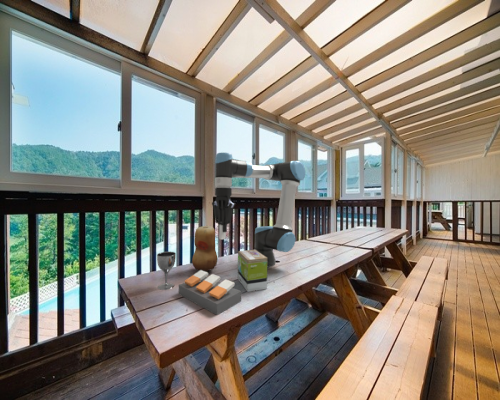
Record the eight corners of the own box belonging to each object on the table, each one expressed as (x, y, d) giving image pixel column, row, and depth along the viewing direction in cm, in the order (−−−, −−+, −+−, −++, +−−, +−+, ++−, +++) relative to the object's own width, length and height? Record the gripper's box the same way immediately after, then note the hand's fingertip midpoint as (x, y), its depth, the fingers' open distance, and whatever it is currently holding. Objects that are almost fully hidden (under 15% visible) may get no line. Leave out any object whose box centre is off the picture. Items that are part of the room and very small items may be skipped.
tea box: (236, 279, 105) (237, 250, 105) (255, 277, 109) (255, 248, 108) (246, 292, 91) (247, 259, 91) (267, 289, 94) (268, 257, 94)
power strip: (216, 278, 105) (216, 271, 105) (254, 293, 90) (254, 284, 90) (178, 294, 88) (178, 284, 88) (216, 315, 73) (217, 304, 73)
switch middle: (213, 277, 90) (212, 273, 90) (221, 280, 87) (220, 276, 87) (197, 291, 84) (195, 287, 83) (204, 295, 81) (203, 290, 80)
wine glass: (155, 291, 90) (155, 256, 90) (158, 283, 98) (158, 252, 98) (174, 289, 93) (174, 255, 92) (175, 282, 100) (176, 251, 100)
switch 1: (201, 273, 96) (200, 269, 95) (208, 276, 92) (208, 272, 92) (185, 284, 89) (184, 280, 88) (192, 288, 86) (191, 284, 85)
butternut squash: (188, 275, 109) (188, 227, 109) (196, 266, 123) (197, 224, 122) (213, 276, 108) (214, 228, 108) (219, 267, 121) (220, 225, 121)
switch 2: (226, 283, 86) (225, 279, 85) (235, 287, 82) (234, 282, 82) (209, 296, 79) (208, 292, 78) (218, 301, 76) (217, 296, 75)
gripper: (207, 187, 96) (206, 238, 96) (227, 186, 87) (226, 242, 88) (219, 187, 101) (218, 235, 102) (239, 187, 93) (238, 239, 94)
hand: (222, 238), depth 95 cm, fingers closed
